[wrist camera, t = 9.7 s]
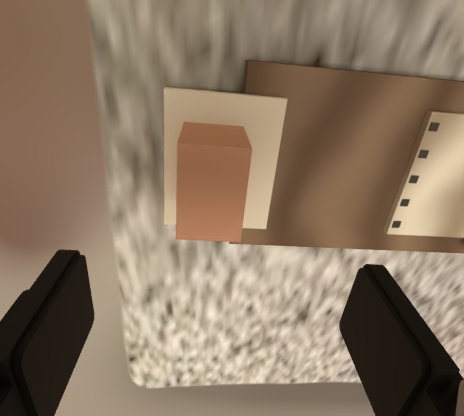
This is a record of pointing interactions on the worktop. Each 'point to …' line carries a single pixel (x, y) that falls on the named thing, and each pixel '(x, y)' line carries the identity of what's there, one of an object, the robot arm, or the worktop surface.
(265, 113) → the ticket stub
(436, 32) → the worktop surface
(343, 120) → the ticket board
